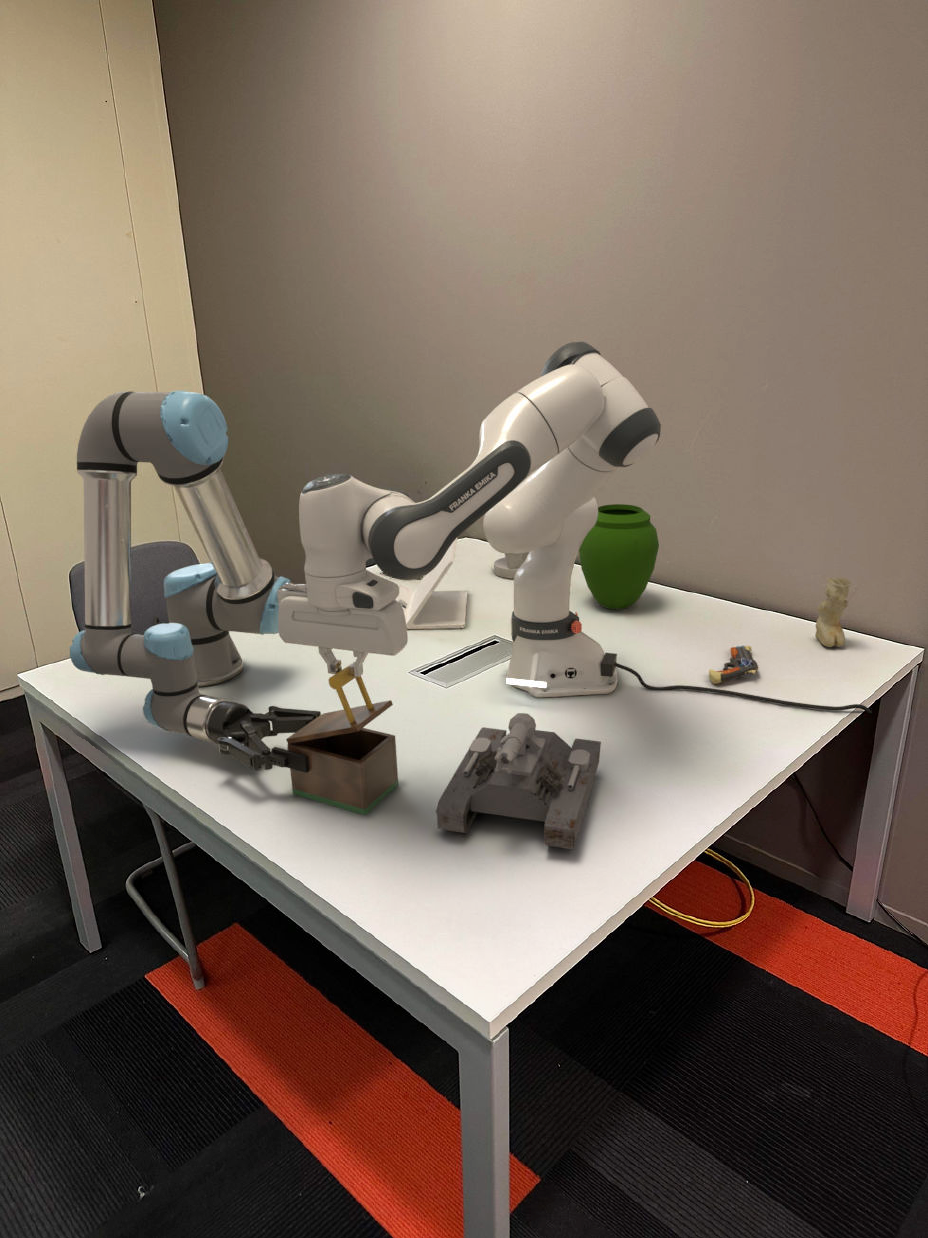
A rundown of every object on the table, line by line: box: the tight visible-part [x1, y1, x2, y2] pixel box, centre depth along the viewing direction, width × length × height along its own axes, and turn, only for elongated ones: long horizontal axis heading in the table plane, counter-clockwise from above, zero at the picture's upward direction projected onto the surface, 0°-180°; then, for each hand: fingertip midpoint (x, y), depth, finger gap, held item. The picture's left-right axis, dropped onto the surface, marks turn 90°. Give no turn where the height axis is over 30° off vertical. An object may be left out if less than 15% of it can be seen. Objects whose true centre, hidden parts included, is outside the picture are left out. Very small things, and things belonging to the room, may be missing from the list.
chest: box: [286, 727, 399, 816], centre depth 136 cm, size 14×10×9 cm
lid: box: [285, 663, 394, 744], centre depth 132 cm, size 15×10×8 cm, turn 62°
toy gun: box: [708, 645, 760, 684], centre depth 176 cm, size 3×19×10 cm
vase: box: [578, 503, 660, 610], centre depth 210 cm, size 20×20×24 cm
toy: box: [435, 712, 602, 850], centre depth 130 cm, size 25×20×15 cm
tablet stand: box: [395, 536, 468, 630], centre depth 211 cm, size 18×25×17 cm
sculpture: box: [814, 576, 852, 648], centre depth 185 cm, size 6×7×15 cm
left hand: (327, 749), depth 136 cm, fingers closed on chest, 10 cm apart
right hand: (345, 674), depth 129 cm, fingers closed on lid, 2 cm apart
